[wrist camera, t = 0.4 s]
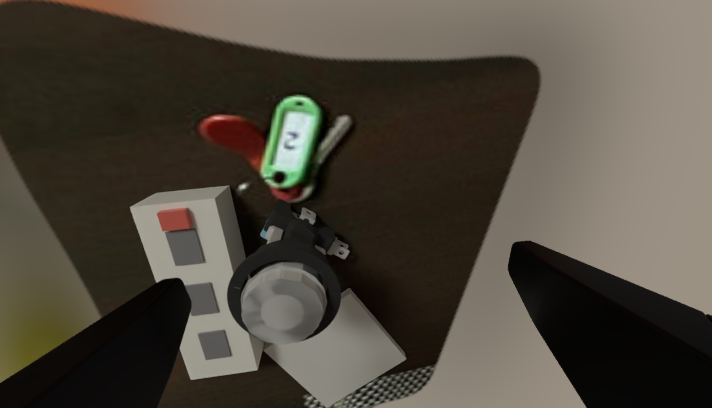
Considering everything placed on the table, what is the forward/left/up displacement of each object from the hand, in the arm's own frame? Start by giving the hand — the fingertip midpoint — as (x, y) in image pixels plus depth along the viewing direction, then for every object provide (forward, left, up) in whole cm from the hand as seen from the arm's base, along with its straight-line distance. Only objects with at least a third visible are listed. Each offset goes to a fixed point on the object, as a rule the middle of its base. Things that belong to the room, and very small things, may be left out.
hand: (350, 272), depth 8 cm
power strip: (-13, -2, -14) cm, 19 cm away
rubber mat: (-10, -14, -14) cm, 22 cm away
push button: (-5, -3, -14) cm, 15 cm away
